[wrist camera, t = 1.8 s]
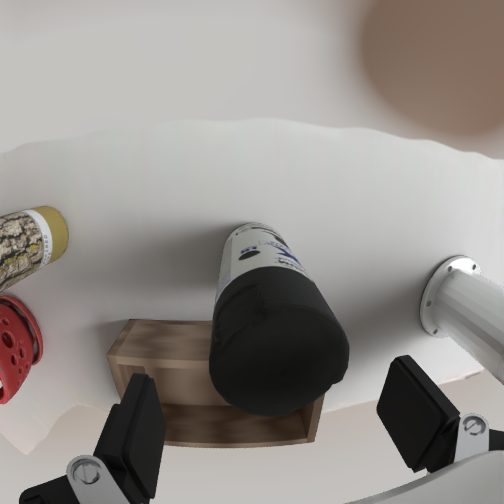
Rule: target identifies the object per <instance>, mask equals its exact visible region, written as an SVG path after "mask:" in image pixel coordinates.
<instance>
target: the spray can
mask: <svg viewBox="0 0 504 504" xmlns="http://www.w3.org/2000/svg"><path fill="white" fill-rule="evenodd" d="M348 361H349V343H348V340H347V337H346V335H345V332H344V330H343V329H342V327H341V325H340V324H339V322H338V321H337V319H336V317H335V316H334V314H333V312H332V311H331V309H330V308H329V306H328V304H327V303H326V301H325V299H324V298H323V296H322V295H321V293H320V291H319V289H318V288H317V286H316V285H315V283H314V282H313V281H312V280H311V278H310V277H309V276H308V274H307V273H306V271H305V270H304V269H303V267H302V266H301V264H300V263H299V261H298V260H297V259H296V257H295V256H294V255H293V253H292V252H291V250H290V249H289V248H288V246H287V245H286V243H285V242H284V240H283V239H282V238H281V236H280V235H279V234H278V233H277V232H276V231H275V230H274V229H272V228H270V227H269V226H266V225H263V224H259V223H248V224H246V225H243V226H241V227H239V228H237V229H236V230H235V231H233V232H232V233H231V234H230V236H229V237H228V239H227V240H226V242H225V245H224V248H223V254H222V260H221V266H220V273H219V280H218V286H217V293H216V299H215V306H214V313H213V323H212V333H211V345H210V354H209V374H210V377H211V381H212V383H213V386H214V388H215V389H216V391H217V392H218V393H219V395H221V396H222V397H223V398H224V400H225V401H226V402H227V403H228V404H230V405H232V406H234V407H236V408H237V409H239V410H240V411H243V412H246V413H248V414H251V415H257V416H266V417H276V416H287V415H290V414H291V413H292V412H293V411H294V410H295V409H299V408H302V407H304V406H306V405H308V404H310V403H312V402H314V401H315V400H317V399H318V398H319V397H321V396H322V395H323V394H324V393H326V392H327V391H328V390H329V389H330V387H331V386H332V384H336V383H338V382H340V381H341V380H342V379H343V377H344V374H345V372H346V370H347V368H348Z"/></svg>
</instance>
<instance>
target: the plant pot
mask: <svg viewBox="0 0 504 504" xmlns="http://www.w3.org/2000/svg"><path fill="white" fill-rule="evenodd" d="M42 354H43V342H42V337H41V333H40V330H39V328H38V326H37V324H36V322H35V320H34V318H33V317H32V315H31V314H30V312H29V311H28V310H27V309H26V308H25V306H24V305H23V304H21V303H20V302H19V301H17V300H16V299H14V298H12V297H9V296H0V380H1V381H2V385H3V386H2V387H1V388H0V404H5V403H7V402H8V401H9V400H10V399H11V398H12V397H13V396H14V395H15V394H16V392H17V391H18V390H19V388H20V387H21V385H22V383H23V382H24V380H25V379H26V377H27V375H28V373H29V371H30V368H31V365H35V364H37V363H38V362H39V361H40V359H41V357H42Z"/></svg>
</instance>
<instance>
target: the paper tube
mask: <svg viewBox="0 0 504 504" xmlns="http://www.w3.org/2000/svg"><path fill="white" fill-rule="evenodd" d="M67 243H68V229H67V225H66V222H65V220H64V218H63V217H62V215H61V214H60V213H59V212H58V211H57V210H56V209H54V208H52V207H49V206H43V207H38V208H34V209H30V210H24V211H20V212H16V213H12V214H8V215H4V216H1V217H0V292H2V291H4V290H5V289H7V288H9V287H10V286H12V285H13V284H15V283H17V282H18V281H20V280H22V279H23V278H25V277H27V276H29V275H30V274H32V273H34V272H35V271H37V270H39V269H41V268H42V267H44V266H46V265H47V264H49V263H51V262H53V261H55V260H56V259H58V258H59V257H61V256H62V254H63V253H64V252H65V250H66V247H67Z"/></svg>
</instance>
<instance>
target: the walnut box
mask: <svg viewBox="0 0 504 504" xmlns="http://www.w3.org/2000/svg"><path fill="white" fill-rule="evenodd" d="M212 323H213V321H168V320H138V319H130V320H129V321H128V323H127V324H126V326H125V327H124V329H123V330H122V332H121V333H120V335H119V336H118V338H117V339H116V341H115V343H114V344H113V346H112V347H111V349H110V350H109V352H108V353H107V358H108V362H109V365H110V369H111V372H112V375H113V378H114V381H115V384H116V387H117V390H118V393H119V396H120V399H121V400H122V398H123V395H124V393H125V391H126V388H127V386H128V383H129V381H130V378H131V376H132V374H133V373H141V374H148V375H149V377H150V378H153V379H154V381H155V385H156V389H157V393H158V397H159V401H160V405H161V408H162V412H163V416H164V419H165V423H166V435H165V440H164V445H169V446H181V447H199V448H254V447H271V446H284V445H294V444H302V443H310V442H314V440H315V436H316V432H317V428H318V423H319V419H320V414H321V410H322V405H323V400H324V395H325V393H324V394H323V395H322V396H321V397H319V398H318V399H317V400H315V401H314V402H312V403H310V404H308V405H306V406H304V407H302V408H299V409H295V410H294V411H293V412H292V413H291V414H290V415H287V416H276V417H266V416H257V415H251V414H248V413H246V412H243V411H240V410H239V409H237V408H236V407H234V406H232V405H230V404H228V403H227V402H226V401H225V400H224V398H223V397H222V396H221V395H219V393H218V392H217V391H216V389H215V388H214V386H213V383H212V381H211V377H210V374H209V354H210V345H211V333H212Z"/></svg>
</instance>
